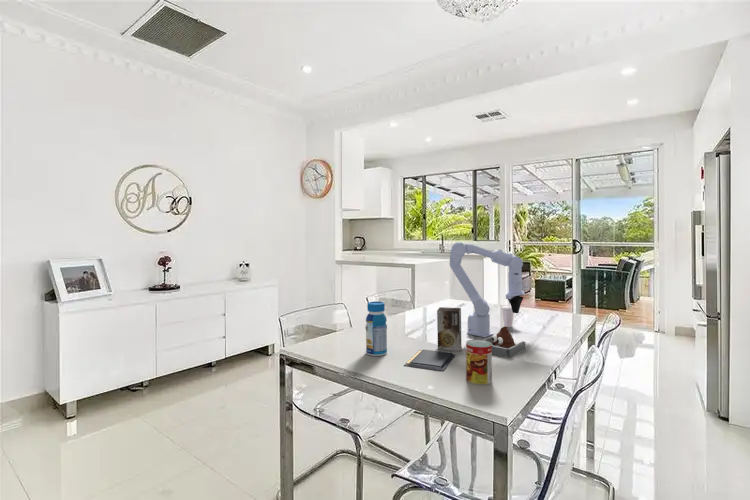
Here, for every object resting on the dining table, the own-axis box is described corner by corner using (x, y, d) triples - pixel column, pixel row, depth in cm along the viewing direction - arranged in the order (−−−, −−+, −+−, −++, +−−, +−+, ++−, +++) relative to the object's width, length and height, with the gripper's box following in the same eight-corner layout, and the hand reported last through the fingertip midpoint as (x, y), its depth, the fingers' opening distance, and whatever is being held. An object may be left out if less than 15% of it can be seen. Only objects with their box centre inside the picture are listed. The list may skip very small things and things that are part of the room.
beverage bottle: (383, 357, 145) (382, 305, 144) (362, 355, 148) (361, 304, 147) (390, 351, 153) (389, 301, 152) (370, 349, 155) (369, 300, 155)
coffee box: (461, 346, 157) (461, 307, 156) (460, 351, 151) (459, 310, 150) (439, 344, 160) (439, 306, 159) (437, 349, 154) (436, 309, 153)
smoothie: (515, 328, 186) (515, 299, 185) (502, 327, 187) (502, 299, 186) (513, 325, 192) (513, 297, 191) (500, 324, 193) (500, 297, 192)
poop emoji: (521, 351, 151) (521, 327, 150) (503, 353, 148) (503, 329, 147) (504, 344, 160) (504, 322, 160) (487, 346, 157) (487, 324, 157)
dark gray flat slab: (443, 368, 129) (401, 362, 136) (443, 373, 129) (401, 367, 136) (457, 351, 147) (419, 346, 154) (457, 356, 147) (419, 351, 154)
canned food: (466, 374, 127) (466, 338, 126) (491, 376, 124) (491, 340, 124) (465, 383, 119) (465, 345, 118) (491, 386, 117) (491, 347, 116)
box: (475, 349, 153) (475, 342, 153) (493, 342, 163) (493, 335, 162) (509, 357, 143) (509, 349, 143) (525, 349, 153) (525, 341, 152)
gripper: (516, 285, 163) (517, 316, 164) (530, 281, 173) (531, 311, 174) (501, 284, 168) (501, 314, 169) (515, 280, 178) (516, 309, 179)
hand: (515, 312), depth 172 cm, fingers closed
